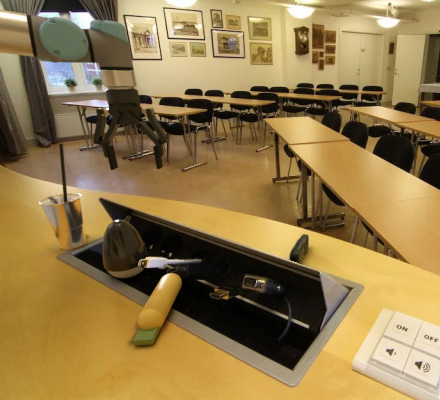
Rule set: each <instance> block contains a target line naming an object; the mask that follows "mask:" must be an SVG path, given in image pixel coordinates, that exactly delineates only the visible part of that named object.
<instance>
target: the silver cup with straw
mask: <svg viewBox="0 0 440 400" xmlns="http://www.w3.org/2000/svg"><path fill="white" fill-rule="evenodd" d="M58 147H59V149H58V150H59V160H60V173H61V185H62V193H58V194H54V195H49V196H46V197H43V198H41V199H40V200H38V201H37V204H38V205H40V206H41V208H42V211H43V213H44V214H45V218H46V219H47V221H48V223H49V225H50V227H51V229H52V231H53V234H54V235H55V237H56V240H57V242H58V244H59V246H60V249H62V250H67V251H68V250H74V248H75V249H78V248H80V247H79V246H81V247H82V245H83V246H84V245H86V243H87V239H86V232H85V231H86V230H85V226H84V218H83V211H82V203H81V198H82V194H81V193H77V192H68V190H67V189H68V187H67V176H66V165H65V155H64V144H63V143H58ZM77 247H78V248H77Z"/></svg>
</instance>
